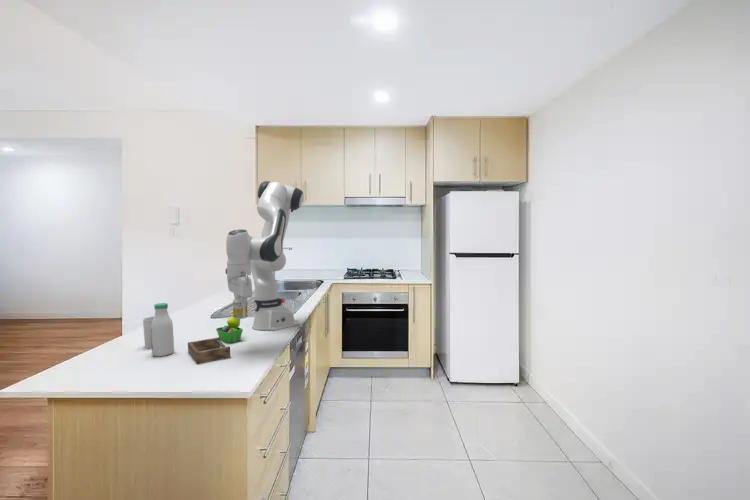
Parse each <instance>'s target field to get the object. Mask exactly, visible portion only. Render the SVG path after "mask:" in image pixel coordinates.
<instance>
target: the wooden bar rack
mask: <svg viewBox="0 0 750 500" xmlns="http://www.w3.org/2000/svg"><path fill="white" fill-rule="evenodd" d="M187 353H188V354H189V355H190V357H191V358H192V359H193V361H194V362H195V364H196V365H198V364H203V363H208V362H213V361H218V360H223V359H228V358H231V346H229V345H228V346H226V345H225V344H224V343H223V342H221V340H220V338H219V336H218V337H213V338H207V339H201V340H195V341H188V342H187Z"/></svg>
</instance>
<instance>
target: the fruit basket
mask: <svg viewBox="0 0 750 500" xmlns="http://www.w3.org/2000/svg"><path fill="white" fill-rule="evenodd" d="M226 323H227V325H224V326H221V327H217V328H215V330H216V332H217V335H218V337H219V338H220V341H223V342H225V343H228V344H233V343H236V342H240V341H241V338H242V334H243V330H244V328H241V327H240V324H241V319H234V317H233V315H232V316H230V317H229V318H228V319H227V321H226Z"/></svg>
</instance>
